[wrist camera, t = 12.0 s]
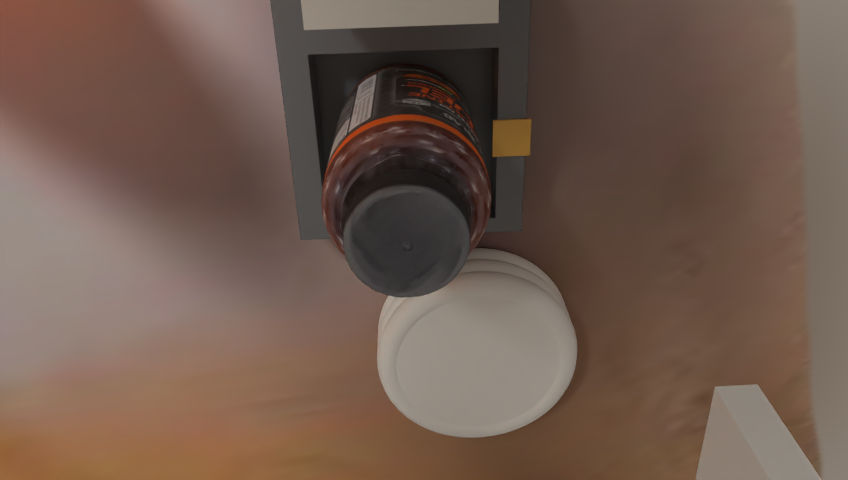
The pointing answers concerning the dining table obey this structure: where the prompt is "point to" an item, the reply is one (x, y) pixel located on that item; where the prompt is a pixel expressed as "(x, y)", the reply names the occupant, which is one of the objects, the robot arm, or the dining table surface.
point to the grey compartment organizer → (405, 44)
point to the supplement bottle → (406, 181)
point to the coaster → (478, 348)
